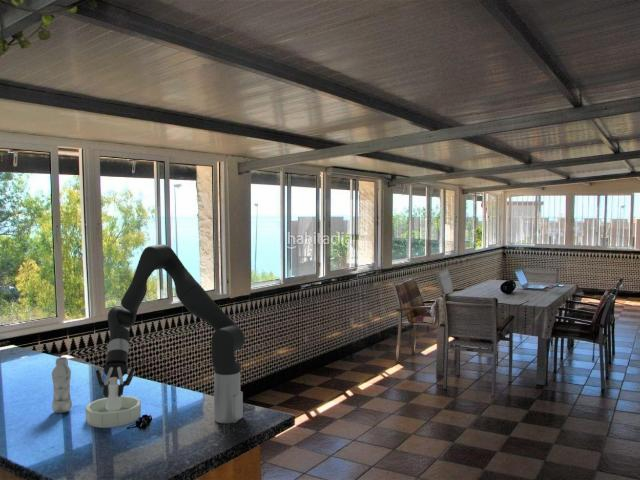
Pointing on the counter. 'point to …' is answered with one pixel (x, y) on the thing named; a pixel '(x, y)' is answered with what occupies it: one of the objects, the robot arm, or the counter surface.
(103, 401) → the bowl
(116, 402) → the salt shaker
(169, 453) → the counter surface
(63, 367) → the plastic bottle
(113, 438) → the counter surface
